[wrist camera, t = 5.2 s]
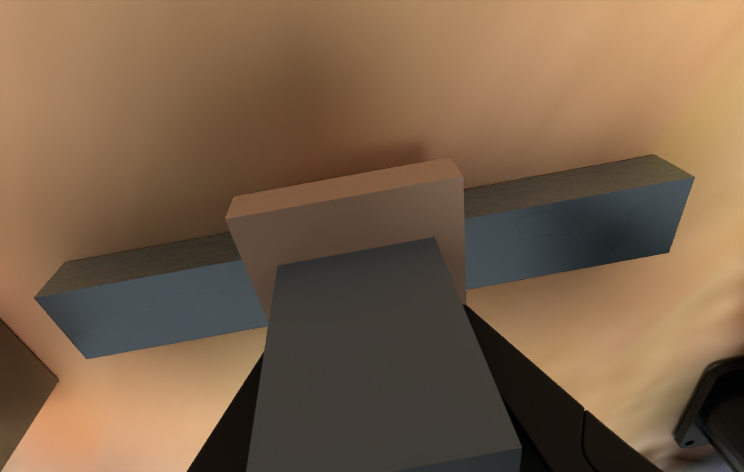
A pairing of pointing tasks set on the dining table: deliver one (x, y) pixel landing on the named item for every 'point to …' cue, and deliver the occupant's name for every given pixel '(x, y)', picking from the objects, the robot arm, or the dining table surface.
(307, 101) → the dining table surface
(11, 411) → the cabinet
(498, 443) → the carriage
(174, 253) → the rail
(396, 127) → the dining table surface
